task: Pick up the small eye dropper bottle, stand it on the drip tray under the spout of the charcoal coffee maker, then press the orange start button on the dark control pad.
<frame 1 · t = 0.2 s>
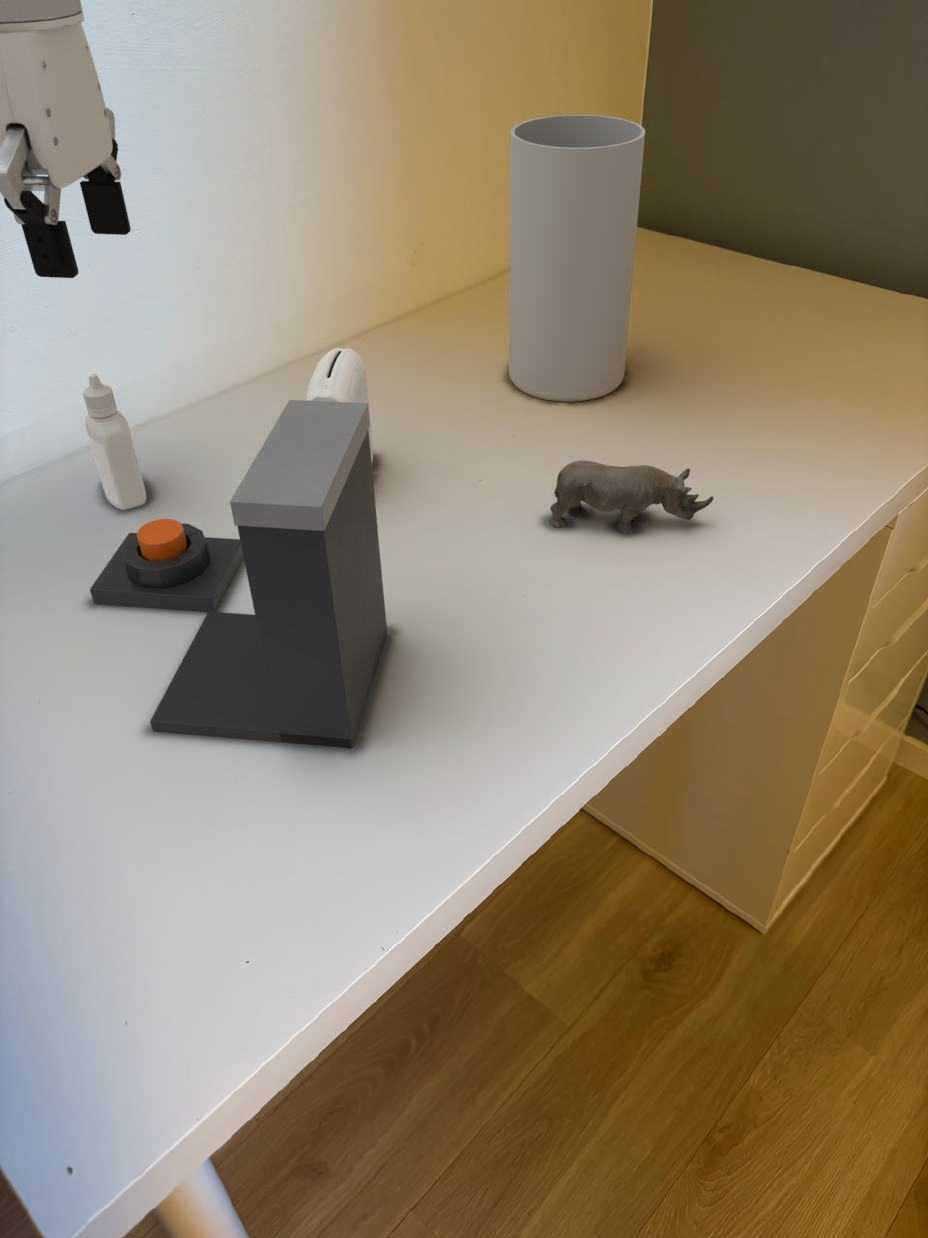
hand: (86, 253, 78), 22 cm above the table, tool pointing down, fingers open, 9 cm apart
coffee maker: (276, 682, 72), on the table
cylinder vase: (565, 380, 109), on the table
rhino figurine: (628, 526, 87), on the table
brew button: (162, 540, 79), point 4 cm above the table, slide at 0.1 cm
control pad: (172, 580, 82), on the table
eye dropper bottle: (126, 497, 92), on the table
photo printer: (347, 486, 93), on the table
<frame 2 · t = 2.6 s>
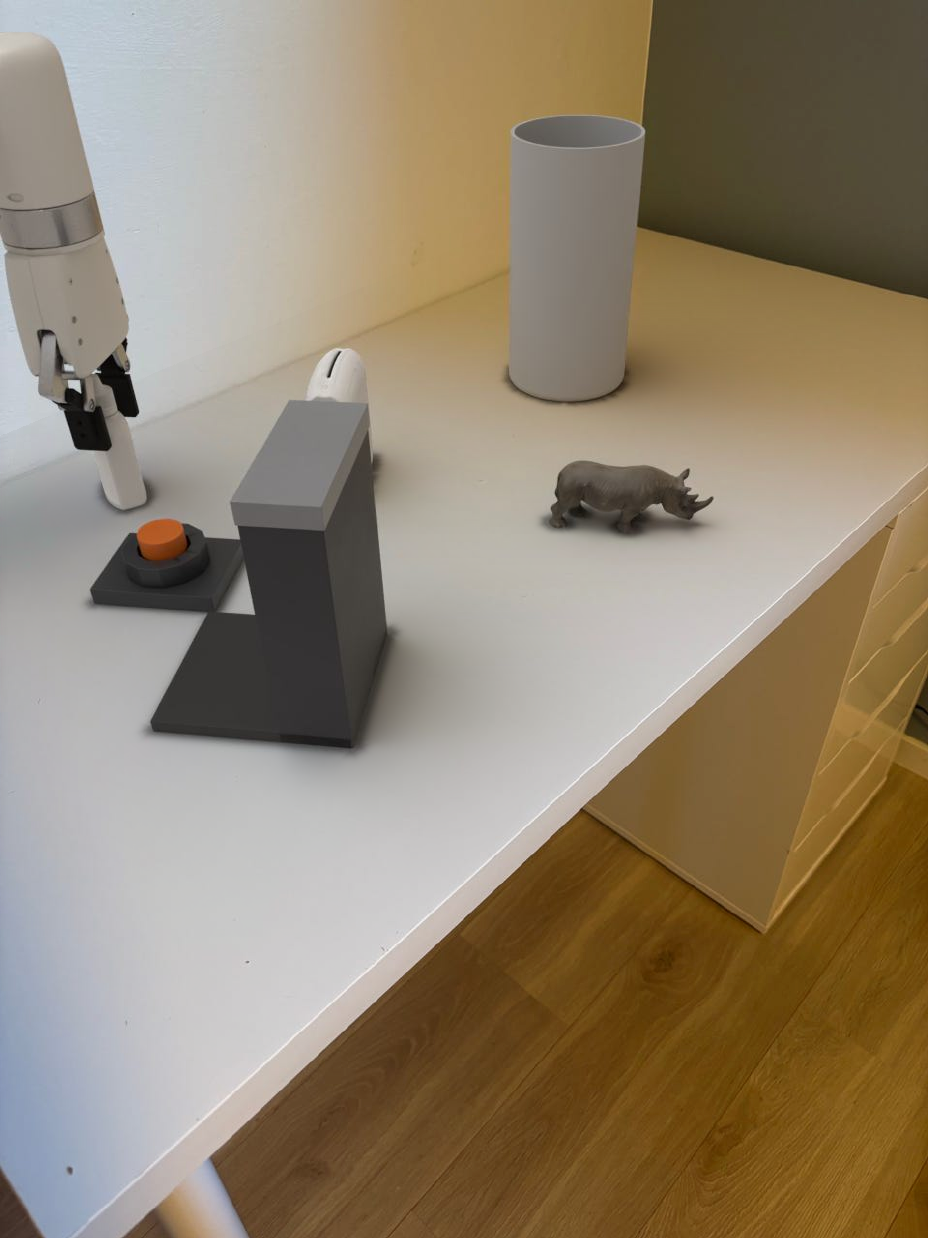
hand: (108, 429, 88), 7 cm above the table, tool pointing down, fingers closed on eye dropper bottle, 5 cm apart
eye dropper bottle: (127, 497, 92), on the table, touching gripper
everything else where it was.
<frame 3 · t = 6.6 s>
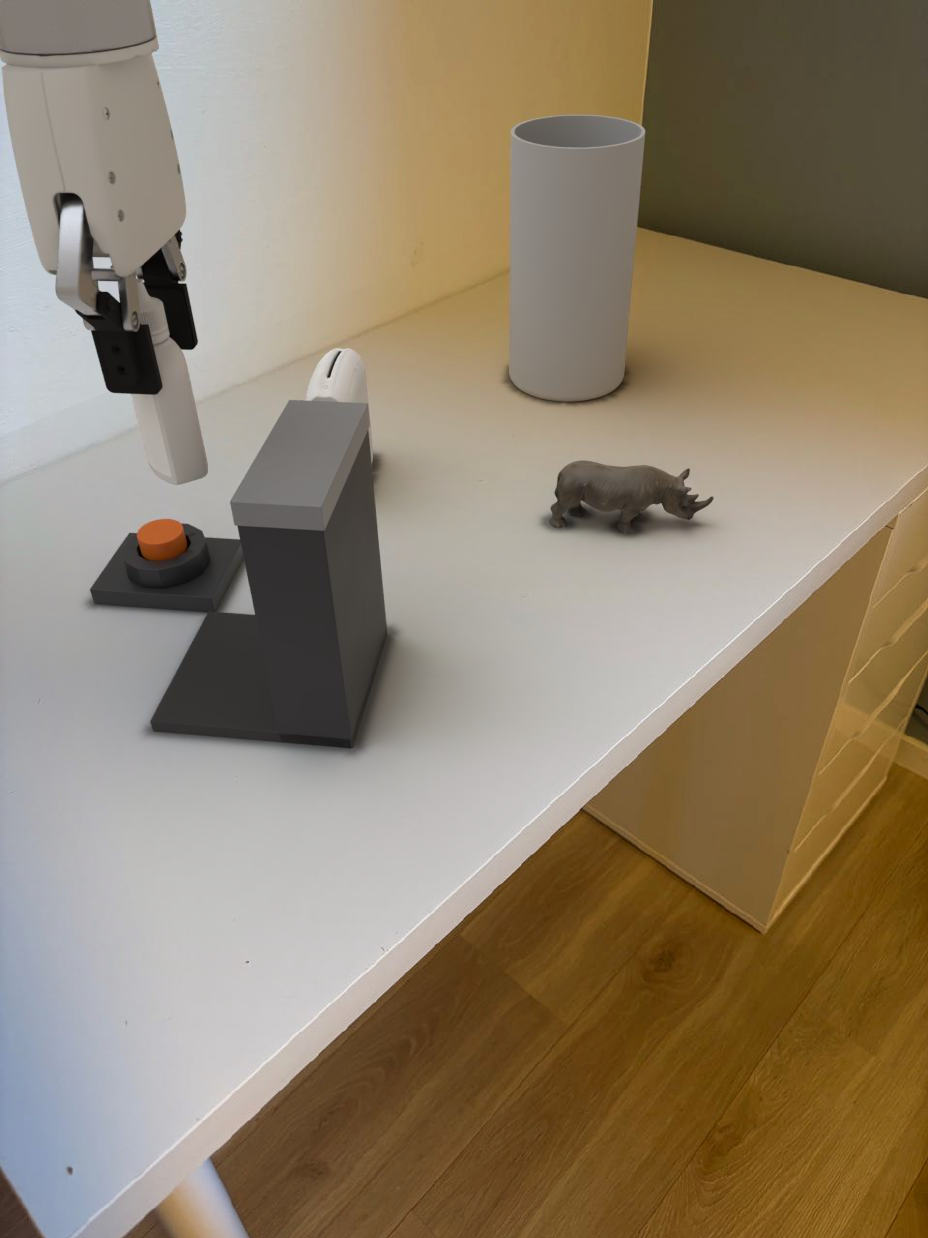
hand: (154, 365, 60), 23 cm above the table, tool pointing down, fingers closed on eye dropper bottle, 5 cm apart
eye dropper bottle: (178, 468, 64), point 16 cm above the table, touching gripper
everything else where it was.
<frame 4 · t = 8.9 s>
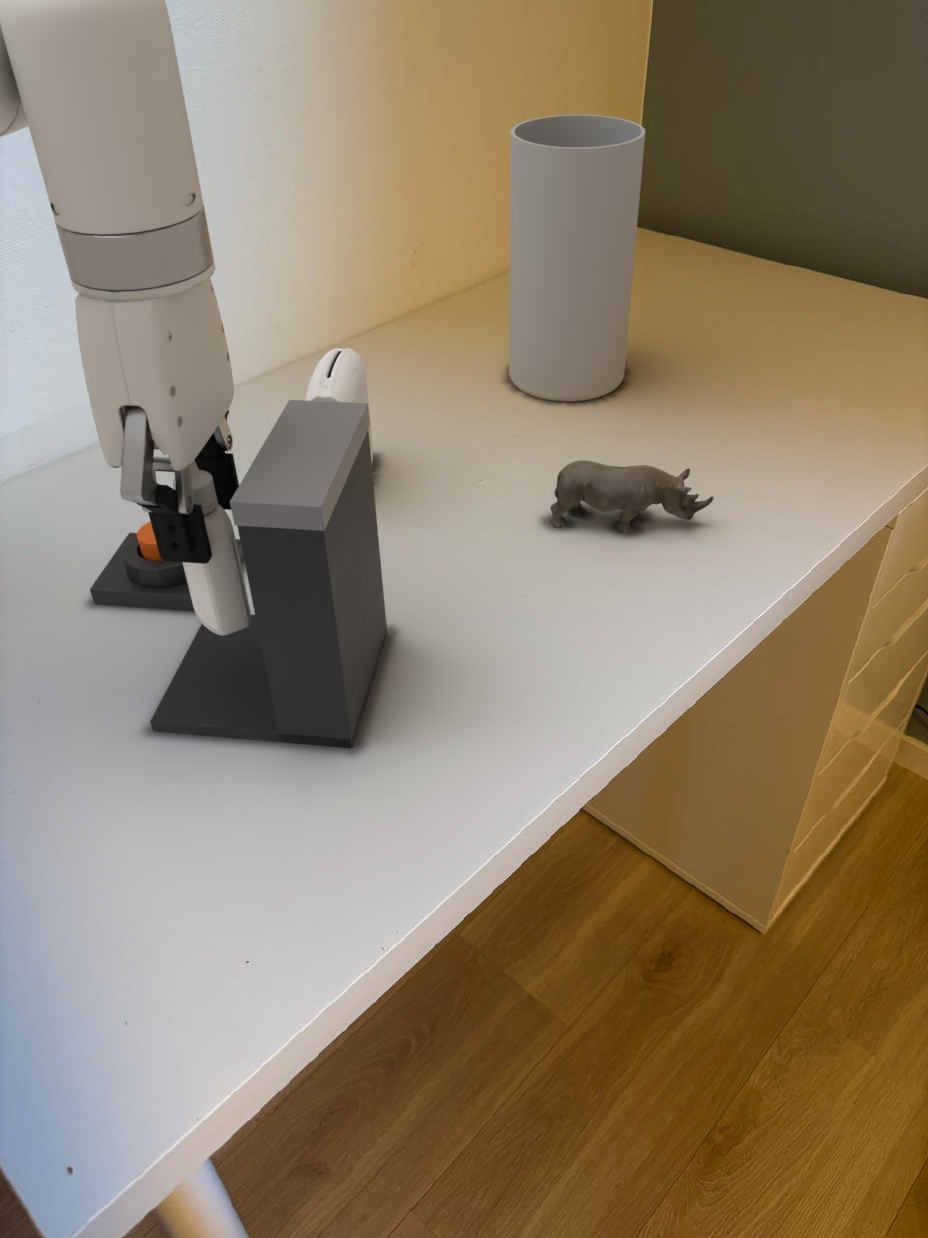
hand: (203, 529, 64), 13 cm above the table, tool pointing down, fingers closed on eye dropper bottle, 5 cm apart
eye dropper bottle: (223, 615, 68), point 6 cm above the table, touching gripper
everything else where it was.
when the fingers open (8 cm above the table, at t = 10.5 s): eye dropper bottle stays where it is, resting on coffee maker.
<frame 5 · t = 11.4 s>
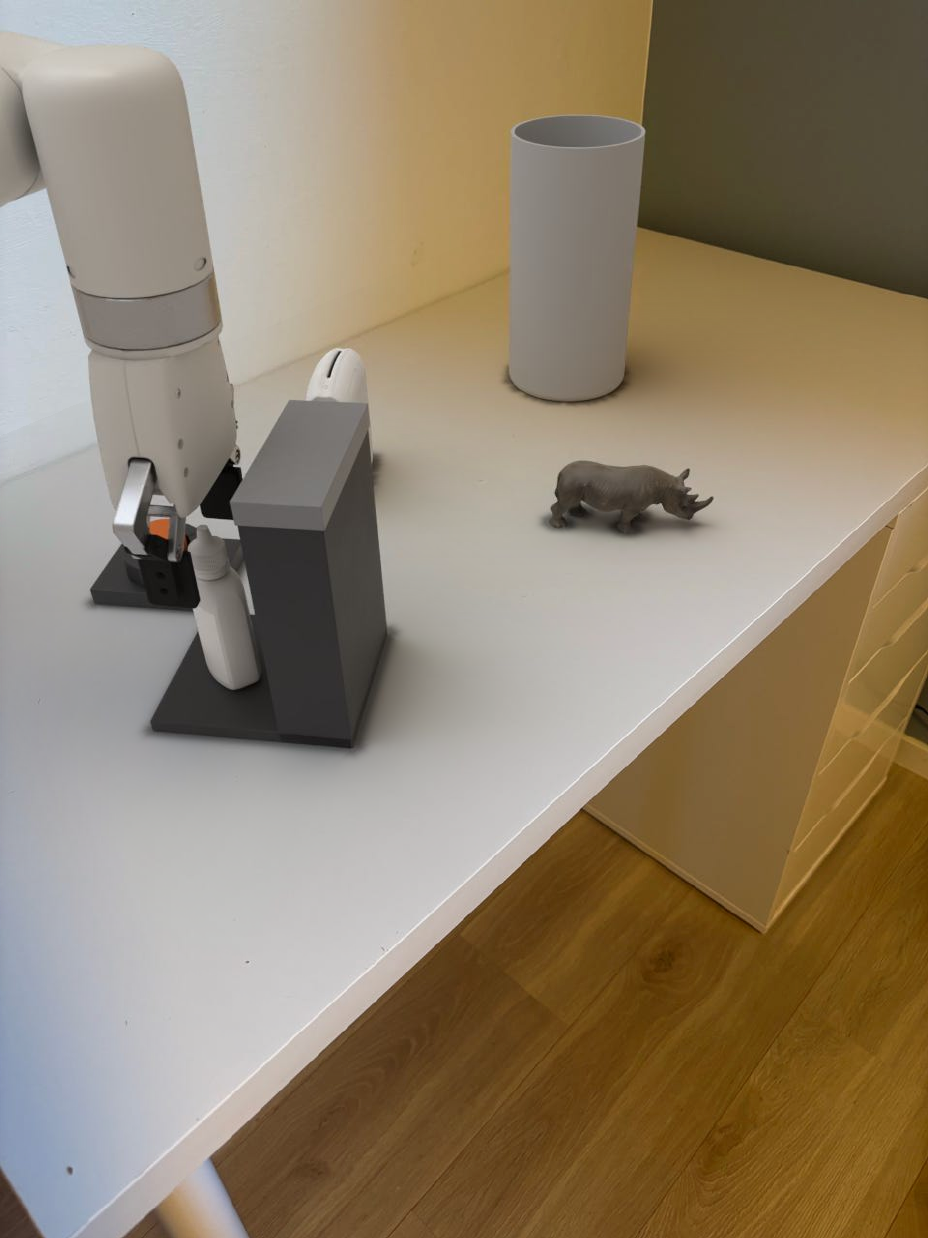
hand: (201, 558, 65), 11 cm above the table, tool pointing down, fingers open, 9 cm apart
eye dropper bottle: (234, 668, 72), point 1 cm above the table, touching coffee maker
everything else where it was.
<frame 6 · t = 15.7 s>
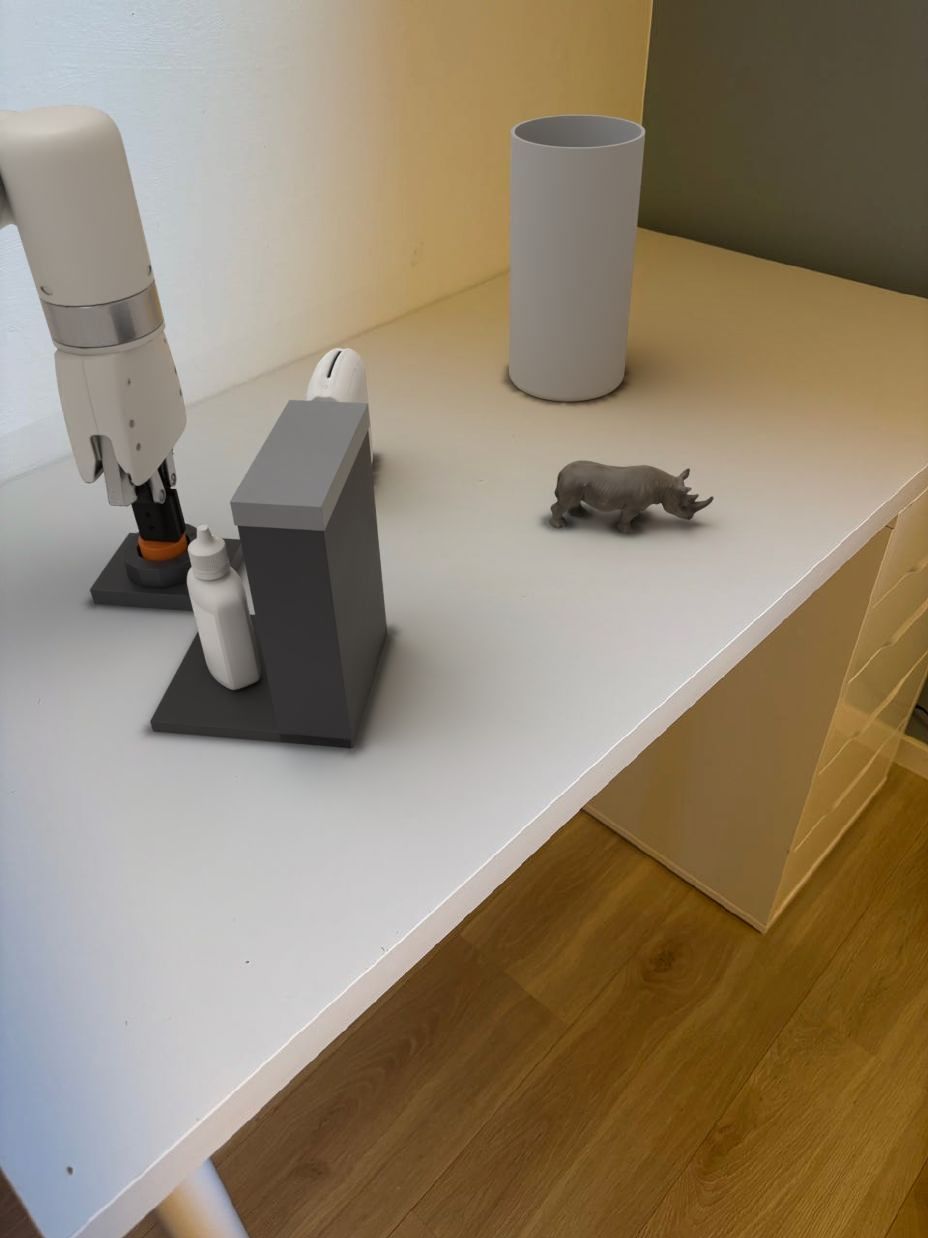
hand: (164, 535, 79), 4 cm above the table, tool pointing down, fingers closed
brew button: (163, 545, 79), point 4 cm above the table, slide at -0.4 cm, touching gripper
everything else where it was.
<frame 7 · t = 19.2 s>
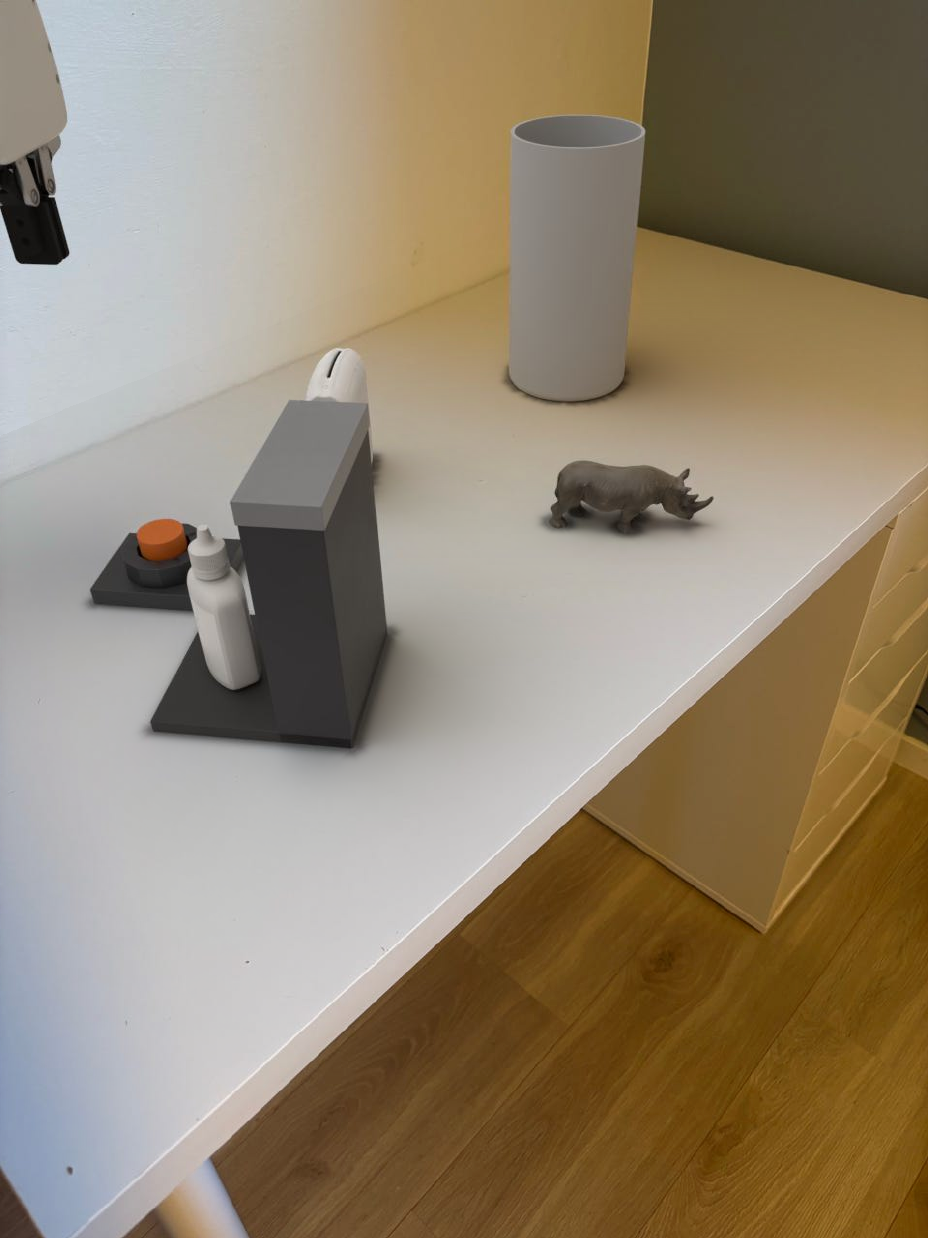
hand: (43, 259, 69), 25 cm above the table, tool pointing down, fingers closed
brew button: (162, 540, 79), point 4 cm above the table, slide at 0.1 cm
everything else where it was.
at the end: eye dropper bottle inside the target area on the coffee maker (0.0 cm from its centre), point 1.0 cm above the coffee maker's base; eye dropper bottle tilted 0°; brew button pushed in 1.1 cm at the most during the clip, back to where it started at the end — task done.
